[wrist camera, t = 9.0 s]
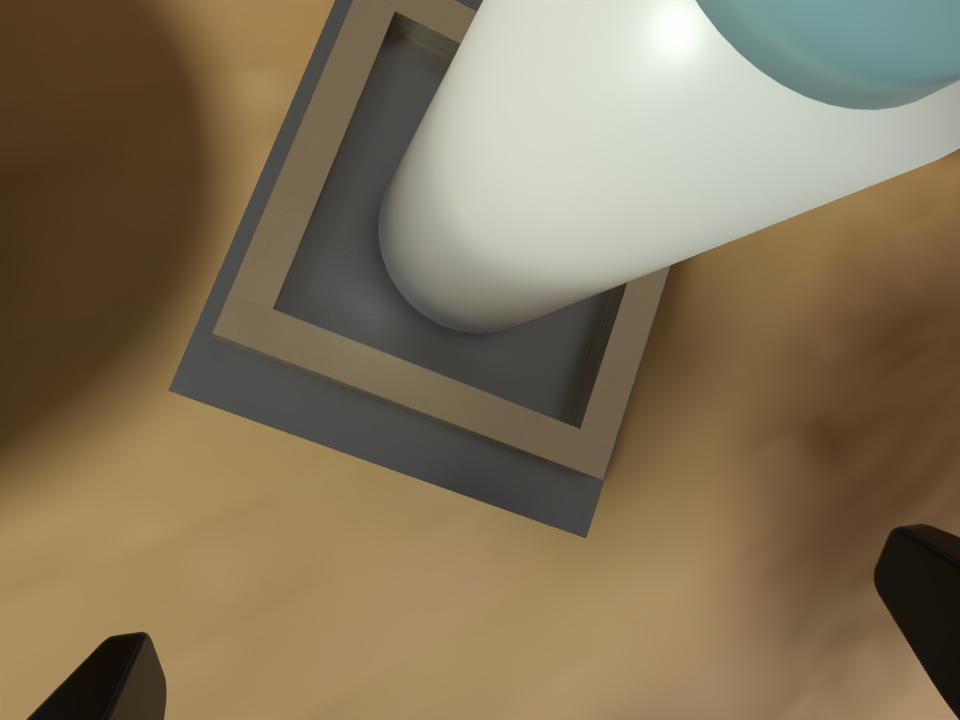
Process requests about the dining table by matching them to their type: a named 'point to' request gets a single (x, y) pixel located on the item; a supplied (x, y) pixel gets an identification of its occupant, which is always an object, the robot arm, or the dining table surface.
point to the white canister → (652, 139)
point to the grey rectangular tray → (403, 302)
